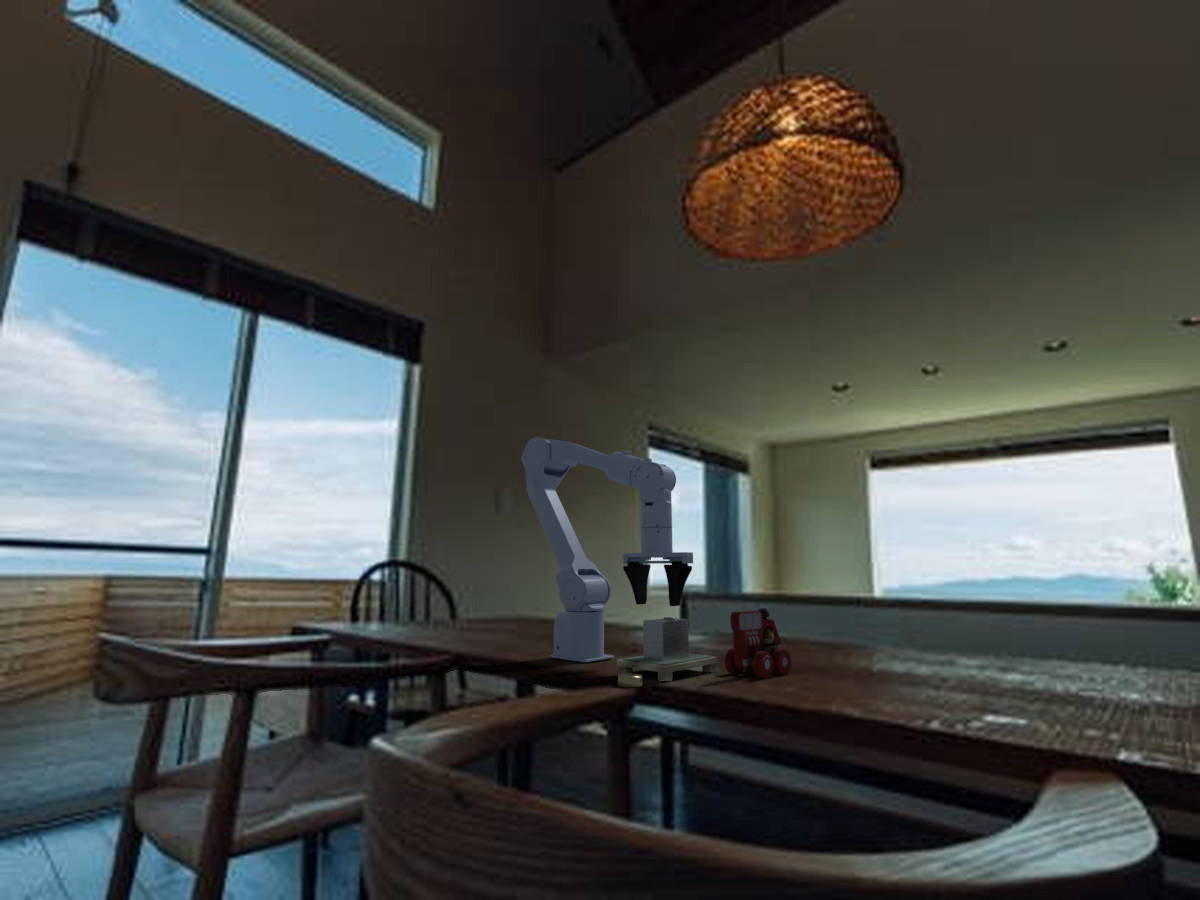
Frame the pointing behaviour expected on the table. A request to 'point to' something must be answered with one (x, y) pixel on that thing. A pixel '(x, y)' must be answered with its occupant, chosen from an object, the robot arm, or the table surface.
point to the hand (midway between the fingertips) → (657, 605)
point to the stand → (667, 665)
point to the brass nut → (630, 680)
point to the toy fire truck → (756, 645)
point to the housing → (665, 639)
